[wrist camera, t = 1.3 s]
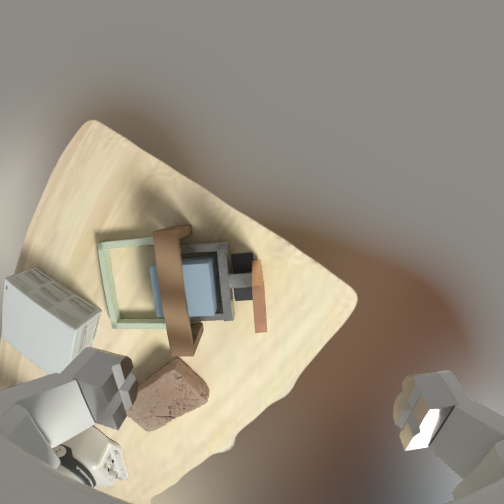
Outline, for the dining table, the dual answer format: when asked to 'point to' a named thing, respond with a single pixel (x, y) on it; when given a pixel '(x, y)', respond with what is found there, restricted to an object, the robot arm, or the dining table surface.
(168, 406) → the brick
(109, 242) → the green hollow frame
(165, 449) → the dining table surface
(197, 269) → the block
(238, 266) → the dark grey flat block
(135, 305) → the dining table surface
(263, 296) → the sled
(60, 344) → the supplement box
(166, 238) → the tunnel
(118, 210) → the dining table surface
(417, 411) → the robot arm
